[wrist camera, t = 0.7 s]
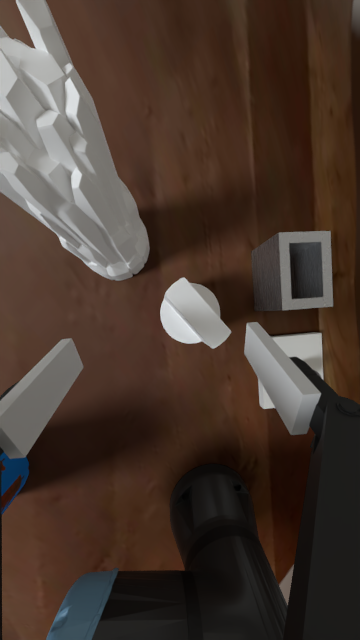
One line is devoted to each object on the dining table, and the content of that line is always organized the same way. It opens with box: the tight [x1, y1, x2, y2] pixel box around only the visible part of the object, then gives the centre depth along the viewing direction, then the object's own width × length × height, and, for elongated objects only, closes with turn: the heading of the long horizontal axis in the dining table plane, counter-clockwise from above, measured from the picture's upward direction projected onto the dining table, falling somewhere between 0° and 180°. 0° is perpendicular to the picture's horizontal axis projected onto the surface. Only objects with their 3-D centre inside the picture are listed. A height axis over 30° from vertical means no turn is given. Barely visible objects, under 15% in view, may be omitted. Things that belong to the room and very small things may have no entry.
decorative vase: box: [0, 0, 150, 281], centre depth 19 cm, size 11×11×25 cm
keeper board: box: [258, 332, 323, 409], centre depth 32 cm, size 13×12×7 cm
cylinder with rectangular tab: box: [160, 278, 231, 348], centre depth 27 cm, size 9×9×12 cm
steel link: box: [251, 231, 333, 311], centre depth 31 cm, size 11×8×8 cm
